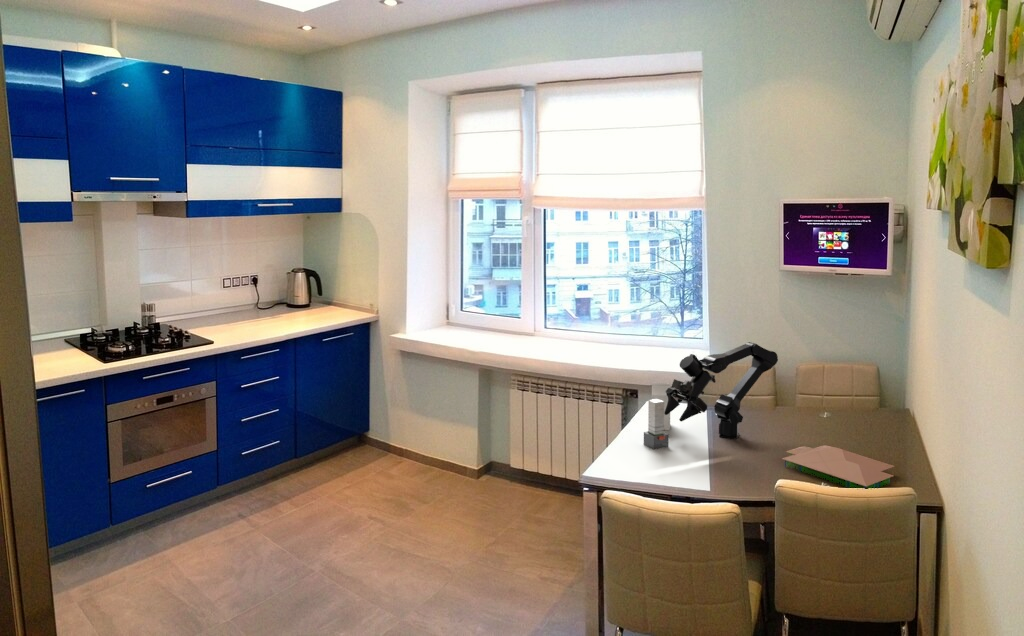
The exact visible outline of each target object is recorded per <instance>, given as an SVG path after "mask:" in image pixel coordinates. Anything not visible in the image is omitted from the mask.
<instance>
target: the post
mask: <svg viewBox="0 0 1024 636" xmlns="http://www.w3.org/2000/svg"><path fill="white" fill-rule="evenodd" d="M647 404H648V419H647V420H648V423H647V424H648V425H647V427H648V428H647V431H648V433H649V434H651V435H653V436H658V435H663V434H664V432H665V430H664V401H662V400H659V399H653V400H652V399H648V403H647Z"/></svg>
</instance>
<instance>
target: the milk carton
mask: <svg viewBox="0 0 1024 636" xmlns="http://www.w3.org/2000/svg"><path fill="white" fill-rule="evenodd" d="M668 388H671V383H669V382H665V383H664V382H651V400H653V399H659V400H662V401H664V413H665V409H666V406H667V403H668V396H667V393H666V390H667V389H668ZM665 430H666V431H670V430H671V412H670V413H669V414H667V415H665V414H664V431H665Z"/></svg>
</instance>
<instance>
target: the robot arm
mask: <svg viewBox="0 0 1024 636" xmlns="http://www.w3.org/2000/svg"><path fill="white" fill-rule="evenodd" d="M750 356H751V357H752V359H751V366H750V367H749V368H748V370H747V371H746V372H745V373H744V375H743V376H742V377H741V378H740V380H739V381H738V382H737V383H736V385H735V386H734V387H733V389H732V390H731V391H730V392H729V393H728V394H727V395H726V394H723V393H722V394H721V395H720V396H719V397H718V399H717V400H715V404H714V406H713V407H714V413H715V414H716V416H717V419H720V422H719V423H718V434H719V437H720V438H726V439H736V440H737V439H738V437H739V436H740V432H739V424H740V423H742V422H743V419H744V416H743V415H742V414H741V413H740V412H739V411H740V408H741V404H742V403H741V402H742V400H743V399H744V398H745V397H746V395H747V394H748V393H749V391H750V390H751V389H752V388H753V386H754V384H755V383H756V382H757V381H758V379H760V377H761V376H762V375H763V374H764V373H766V372H768V371H770V370H771V369H772V368H774V366H776V364H777V363H778V361H779V359H778V354H777V352H776V351H773V350H770V349H766V348H764V347H762V346H760V345H759V344H757V343H754V342H751V341H749V342H746V343H744V344H742V345H740V346H737V347H735V348H733V349H729V350H728V351H725V352H723V353H717V354H716V353H714V354H709V355H705V356H704V357H703V358H702V359H698V358H697V357H698V356H697V355H696V354H693V353H690V354H689V355H687V356H685V357H683V358H682V359H681V360H680V362H679V368H680V369H682V371H683V372H684V373H685V374H686V375H687V376H688V377H690V378H691V380H684V382H683V381H681V380H679V379H675V378H674V379H673V381H672V384H671V385H670V388H668V389H667V390H666V393H667V396H668V403H667V406H666V409H665V413H664V414H665V415H667V414H669V413H670V414H671V412H672V411H675V409H676V408H677V407H679V406H680V405H681V403H682V402H686V408H685V409H684V411H683V412H682V414H681V416H680V418H679V419H678V420H679V421H680V422H683V421H686V420H687V419H690V418H691V417H693V416H695V415H698V414H702V413H706V411H707V410H708V405H707V403H706V402H705V401H704V400H703V399H702V398H701V397H699V396H700V395H704V394H705V392H704V390H705V388H706V387H707V386H708V385H709V383H710V382H711V383H713V384H715V383H716V377H715V376H716V375H715V374H719V373H722V372H723V371H725V370H726V369H727V368H728V366H729V365H731V364H734V363H736V362H738V361H740V360H742V359H744V358H747V357H750ZM711 373H713V374H711Z"/></svg>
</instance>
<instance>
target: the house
mask: <svg viewBox="0 0 1024 636" xmlns="http://www.w3.org/2000/svg"><path fill="white" fill-rule="evenodd" d="M785 453H788V454H789V455H788V456H785V457H782V458H781V459H782V460H784V461H785V463H784V464H785V465H784V466H785V468H786V467H790V466H791V467H794V465H797V468H799V472H800V473H802V472H803V473H804V470H805V471H806V472H809V473H813V474H812V475H813V476H812V477H814V476H817V475H818V476H821V477H823V478H824V481H825V478H827V479H830V481H832V480H833V481H832V482H833V484H834V483H835V481H836V482H840V485H839V486H841V485H842V484H844V485H845V488H846V487H847V488H850V487H851V488H852V487H854V488H855V487H856V488H857V489H860V488H862V487H864V488H870V489H872V487H873V488H875V487H876V488H878V487H879V488H880V487H881V488H882V486H883V485H884V486H885V485H886V484H887V485H888V483H890V480H891V479H890V478H893V477H894V476H895V475H893V474H890V473H887V472H884V471H886V470H888V469H889V470H890V469H891V468H893V467H894V468H895V465H892V464H890V463H886V462H883V461H879V460H876V459H874V458H870V457H867V456H864V455H861V454H858V453H855V452H853V451H848V450H845V449H842V448H839V447H835V446H829V445H825V444H823V445H820V446H817V447H808V446H806V445H801V446H799V447H796V448H793V449H789V450H787V451H786V450H785ZM809 469H810V470H809ZM801 471H802V472H801ZM815 471H816V472H815ZM818 472H819V473H818ZM814 474H815V475H814ZM827 475H828V476H827ZM830 476H831V477H830ZM832 477H834V478H832ZM836 478H837V479H836ZM839 479H840V480H839ZM842 480H843V481H842ZM844 480H845V481H844ZM881 481H882V482H881ZM841 483H842V484H841ZM857 484H858V485H859V486H857ZM841 487H842V486H841Z"/></svg>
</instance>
